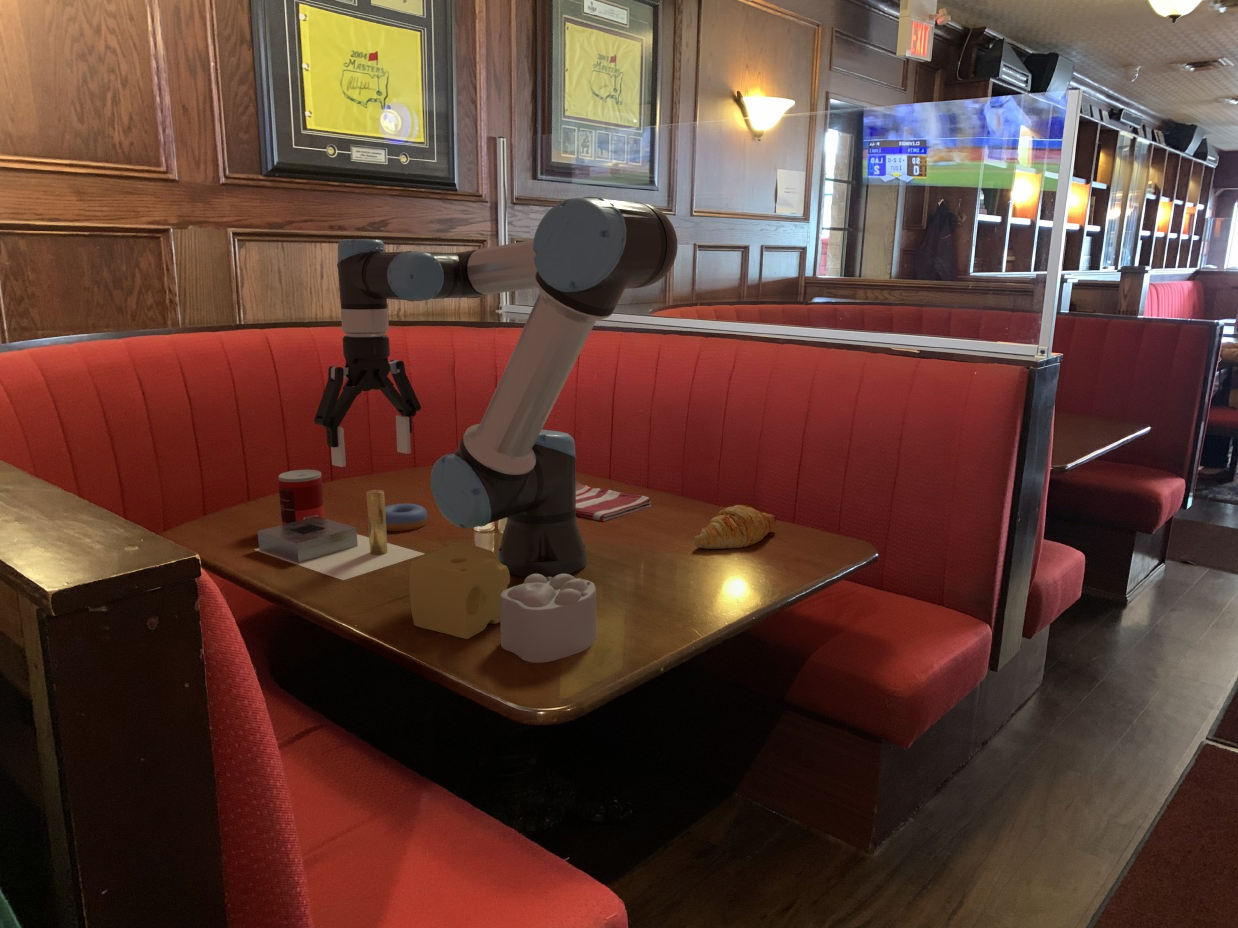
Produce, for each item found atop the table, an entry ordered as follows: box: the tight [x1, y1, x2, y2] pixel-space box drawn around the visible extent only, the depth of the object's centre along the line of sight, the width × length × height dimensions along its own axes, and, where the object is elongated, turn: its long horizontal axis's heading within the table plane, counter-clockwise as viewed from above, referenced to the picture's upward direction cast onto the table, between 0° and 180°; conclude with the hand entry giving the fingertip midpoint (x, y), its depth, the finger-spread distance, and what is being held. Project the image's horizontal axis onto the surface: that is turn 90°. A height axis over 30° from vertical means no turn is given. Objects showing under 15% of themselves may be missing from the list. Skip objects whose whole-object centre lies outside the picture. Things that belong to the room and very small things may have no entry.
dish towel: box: [576, 480, 652, 522], centre depth 191 cm, size 17×23×3 cm
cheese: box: [408, 541, 511, 640], centre depth 127 cm, size 10×11×10 cm
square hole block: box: [257, 516, 358, 563], centre depth 159 cm, size 12×12×4 cm
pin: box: [365, 489, 388, 555], centre depth 156 cm, size 3×3×11 cm
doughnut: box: [385, 503, 428, 532], centre depth 174 cm, size 10×10×5 cm
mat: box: [253, 533, 425, 581], centre depth 158 cm, size 26×17×1 cm, turn 53°
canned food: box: [277, 469, 325, 525], centre depth 171 cm, size 8×8×11 cm
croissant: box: [692, 504, 777, 550], centre depth 165 cm, size 21×10×8 cm, turn 131°
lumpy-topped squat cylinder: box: [499, 574, 597, 664], centre depth 120 cm, size 10×13×9 cm
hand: (372, 459), depth 154 cm, fingers open, 13 cm apart
